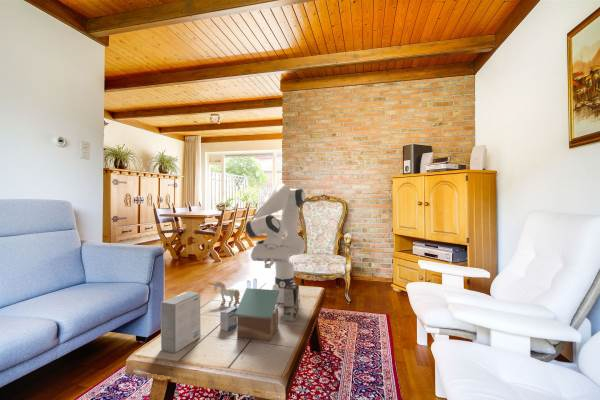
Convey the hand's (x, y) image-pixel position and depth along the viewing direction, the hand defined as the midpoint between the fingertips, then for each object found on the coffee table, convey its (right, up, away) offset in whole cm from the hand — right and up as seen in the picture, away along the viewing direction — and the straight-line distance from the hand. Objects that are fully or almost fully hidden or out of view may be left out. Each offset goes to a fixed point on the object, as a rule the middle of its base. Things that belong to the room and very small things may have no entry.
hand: (267, 267), depth 148 cm
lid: (-3, -14, -14) cm, 20 cm away
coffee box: (+12, -28, +5) cm, 31 cm away
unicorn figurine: (-28, -28, +21) cm, 44 cm away
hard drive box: (-34, -27, -24) cm, 50 cm away
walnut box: (-3, -27, -13) cm, 30 cm away
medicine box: (-18, -27, -7) cm, 34 cm away
